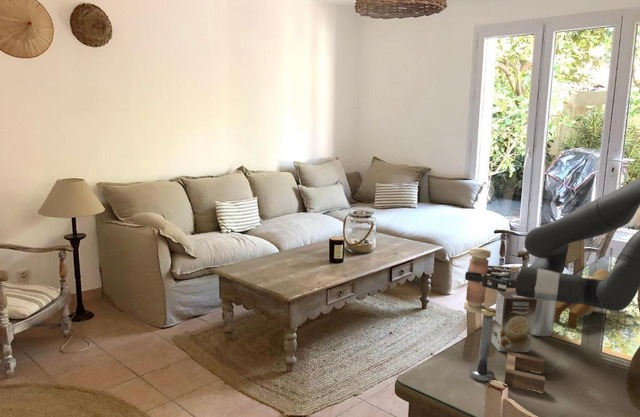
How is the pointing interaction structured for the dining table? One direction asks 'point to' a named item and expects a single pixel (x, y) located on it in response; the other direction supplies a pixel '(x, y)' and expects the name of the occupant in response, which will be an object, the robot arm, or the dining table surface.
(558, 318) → the decorative spool
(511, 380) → the notched board
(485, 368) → the post
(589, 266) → the dining table surface
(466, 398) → the dining table surface
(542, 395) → the dining table surface
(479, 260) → the thread spool
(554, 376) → the dining table surface
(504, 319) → the coffee box
